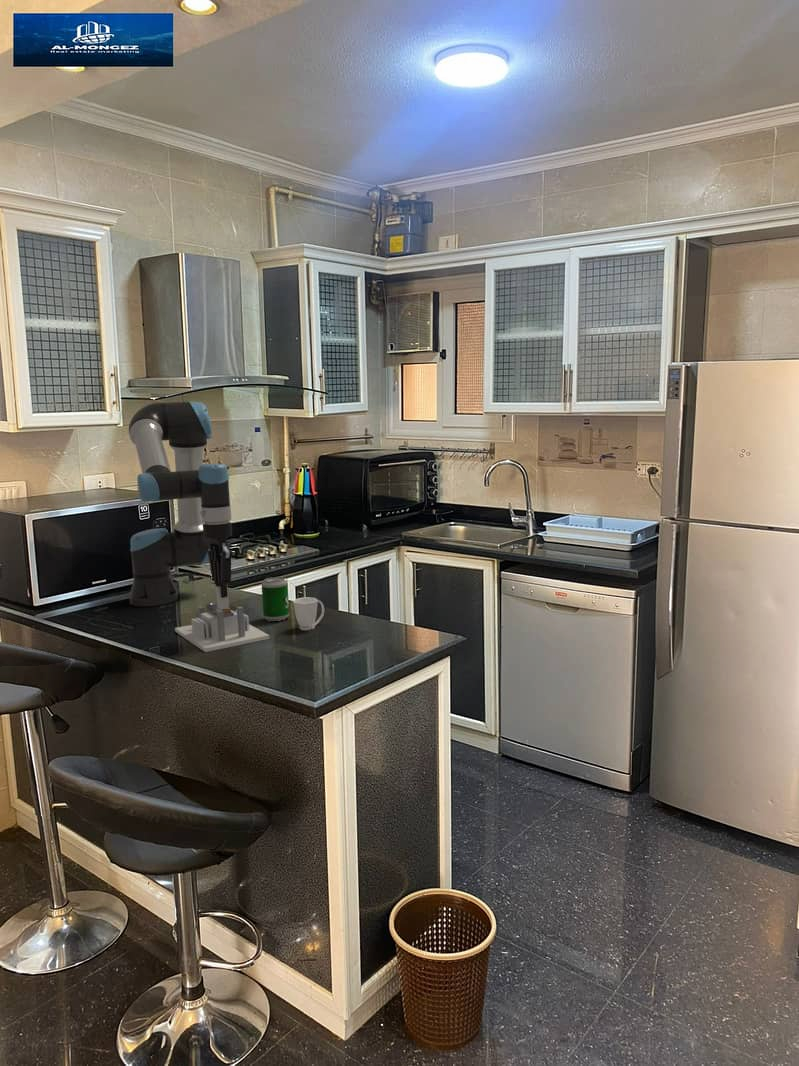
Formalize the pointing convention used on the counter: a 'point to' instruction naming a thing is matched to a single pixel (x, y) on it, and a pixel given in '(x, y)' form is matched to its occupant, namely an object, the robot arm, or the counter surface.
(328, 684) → the counter surface
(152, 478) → the robot arm
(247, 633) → the heatsink base
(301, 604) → the cup
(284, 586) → the soda can
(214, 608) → the lever
